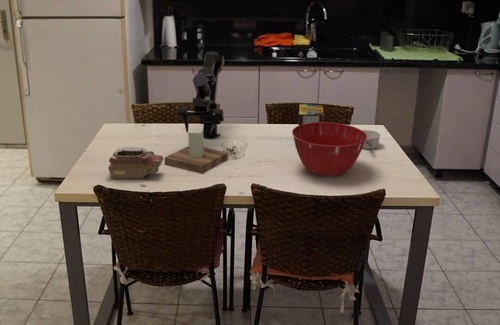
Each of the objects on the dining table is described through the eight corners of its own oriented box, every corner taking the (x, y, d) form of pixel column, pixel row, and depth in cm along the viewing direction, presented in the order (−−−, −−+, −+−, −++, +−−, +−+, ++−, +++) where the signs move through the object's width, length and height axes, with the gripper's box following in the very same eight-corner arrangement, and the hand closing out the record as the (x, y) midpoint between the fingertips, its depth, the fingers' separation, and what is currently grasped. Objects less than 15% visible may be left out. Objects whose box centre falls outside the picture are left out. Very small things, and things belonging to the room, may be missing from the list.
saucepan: (355, 157, 243) (356, 144, 241) (351, 141, 261) (352, 129, 259) (383, 158, 242) (384, 145, 240) (377, 142, 260) (378, 130, 258)
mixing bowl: (374, 166, 233) (377, 129, 227) (347, 190, 210) (350, 150, 204) (309, 153, 246) (311, 117, 241) (277, 174, 223) (278, 136, 218)
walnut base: (191, 151, 246) (191, 144, 245) (227, 159, 238) (227, 152, 237) (164, 164, 232) (164, 157, 231) (201, 173, 223) (201, 166, 222)
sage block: (191, 152, 236) (190, 128, 233) (203, 153, 236) (203, 129, 232) (189, 156, 232) (188, 132, 228) (201, 157, 231) (201, 133, 228)
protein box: (321, 138, 265) (323, 104, 260) (321, 149, 251) (323, 114, 245) (297, 137, 266) (299, 104, 260) (297, 148, 252) (298, 113, 246)
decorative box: (117, 167, 229) (116, 143, 225) (167, 169, 227) (166, 146, 223) (106, 180, 217) (104, 155, 213) (159, 182, 215) (158, 158, 211)
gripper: (176, 88, 235) (171, 122, 229) (222, 89, 233) (218, 124, 227) (181, 101, 245) (176, 135, 239) (225, 103, 243) (222, 137, 237)
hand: (198, 132), depth 235 cm, fingers open, 9 cm apart
